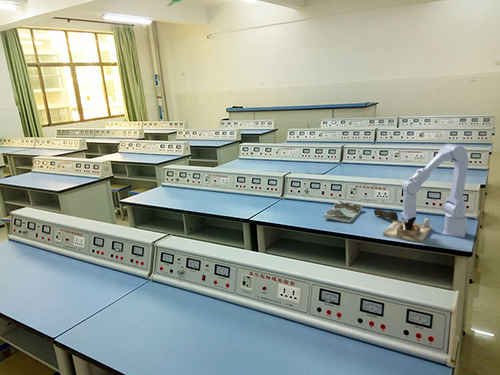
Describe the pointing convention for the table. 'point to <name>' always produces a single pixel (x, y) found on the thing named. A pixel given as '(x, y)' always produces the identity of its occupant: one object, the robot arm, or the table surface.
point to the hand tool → (386, 214)
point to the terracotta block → (413, 227)
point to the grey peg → (427, 222)
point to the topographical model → (343, 211)
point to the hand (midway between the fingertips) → (408, 231)
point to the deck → (406, 231)
